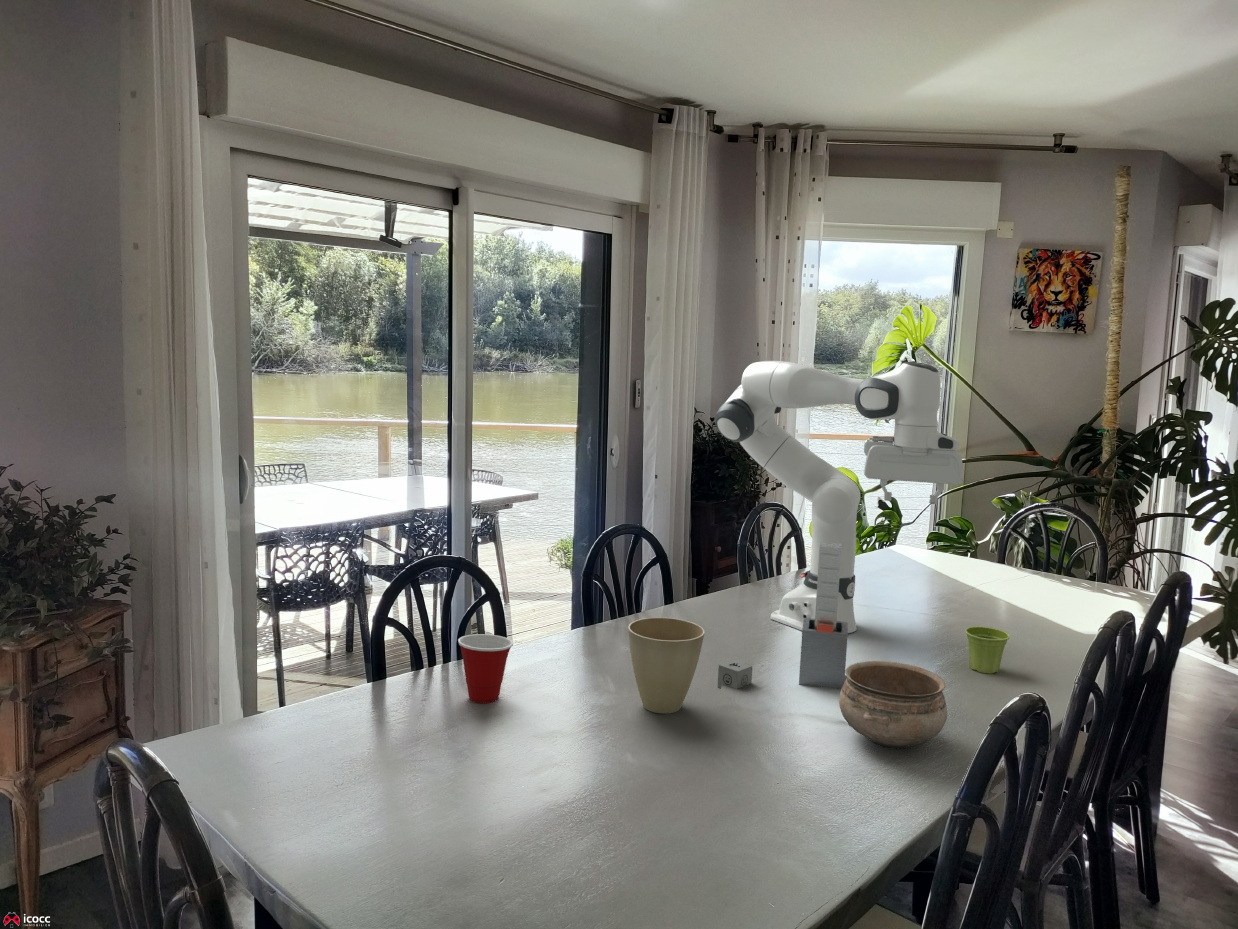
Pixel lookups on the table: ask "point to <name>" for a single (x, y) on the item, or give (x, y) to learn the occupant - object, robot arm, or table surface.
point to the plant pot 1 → (664, 660)
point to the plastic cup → (484, 665)
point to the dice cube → (734, 674)
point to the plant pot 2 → (986, 648)
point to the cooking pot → (893, 703)
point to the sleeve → (823, 654)
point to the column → (828, 584)
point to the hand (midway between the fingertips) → (910, 502)
